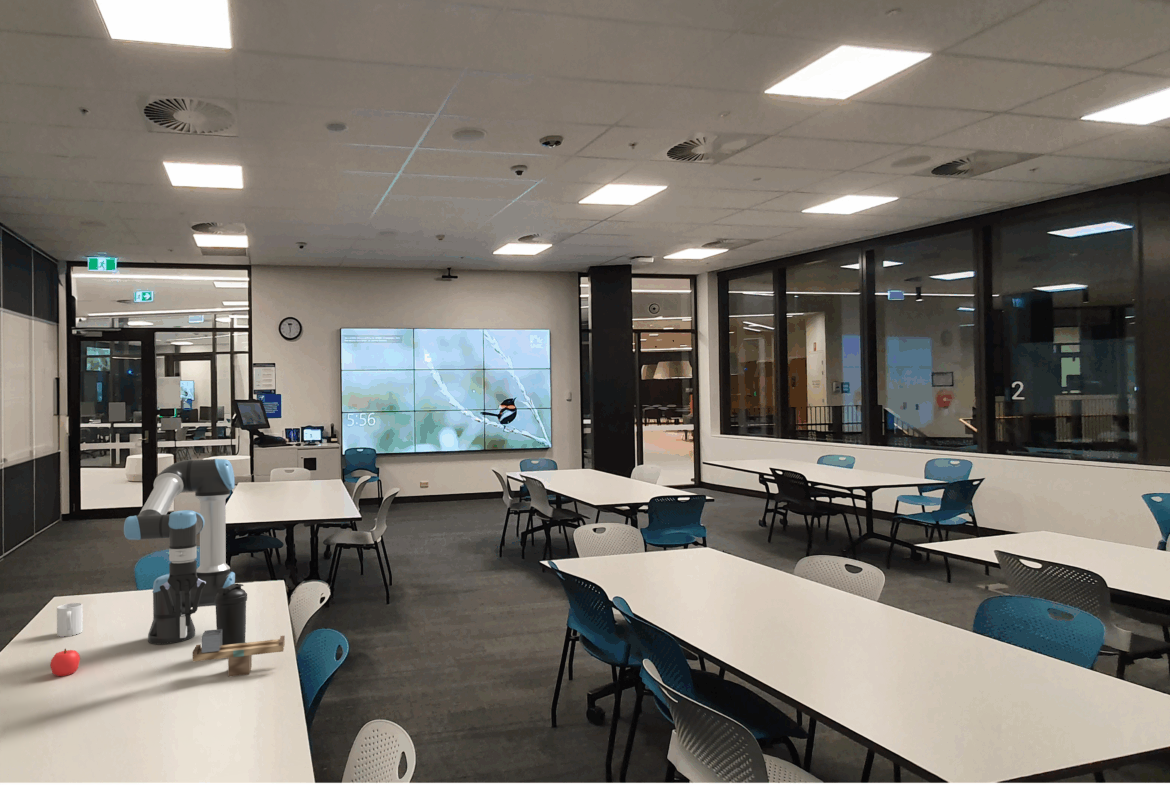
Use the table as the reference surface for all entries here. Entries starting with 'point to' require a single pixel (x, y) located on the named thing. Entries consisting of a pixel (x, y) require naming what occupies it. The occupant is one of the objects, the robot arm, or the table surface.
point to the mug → (69, 619)
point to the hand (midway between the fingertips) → (183, 636)
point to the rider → (212, 640)
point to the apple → (65, 662)
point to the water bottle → (231, 613)
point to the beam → (240, 654)
